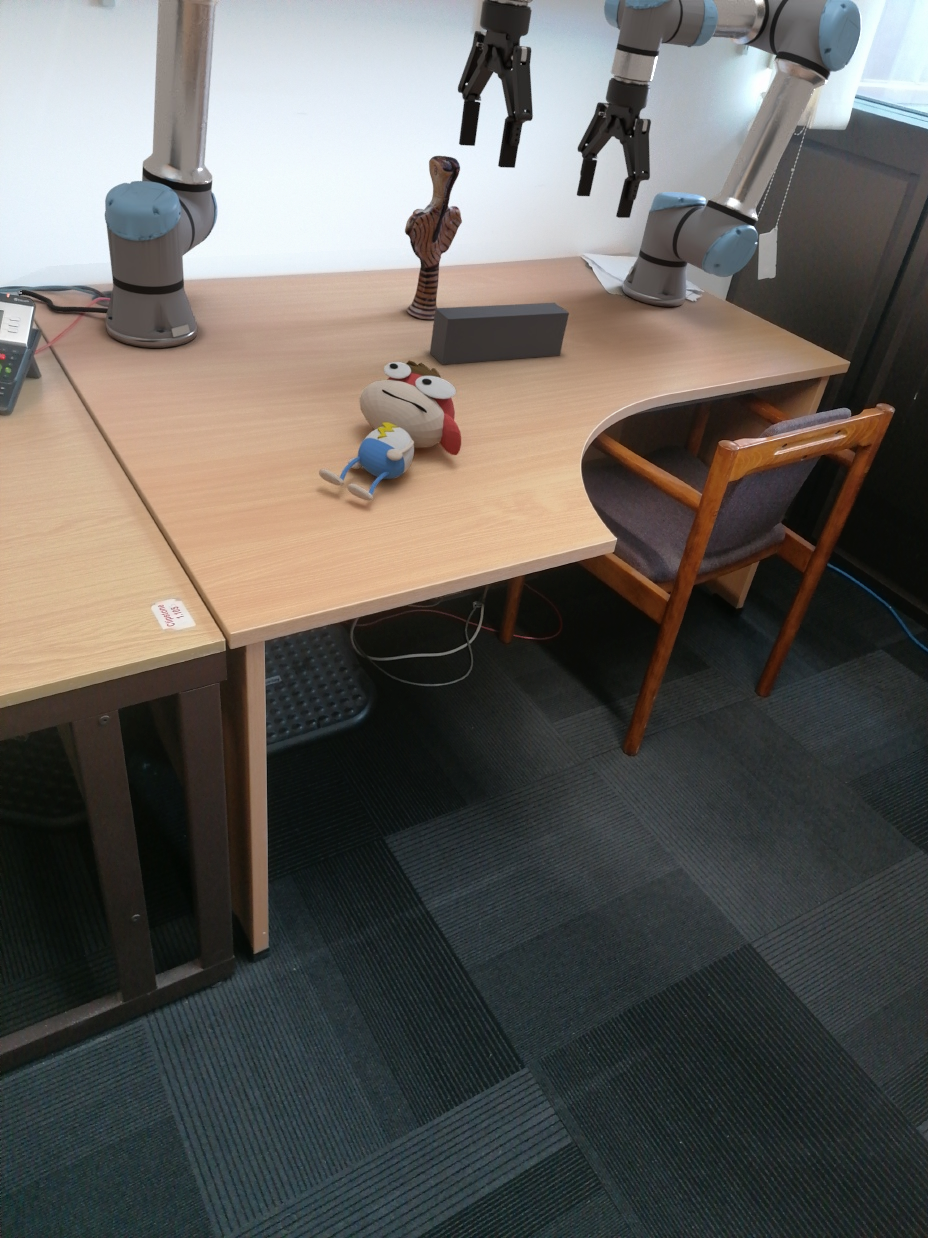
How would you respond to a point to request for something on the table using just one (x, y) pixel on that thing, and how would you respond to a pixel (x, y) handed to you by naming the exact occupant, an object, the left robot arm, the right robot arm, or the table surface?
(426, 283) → the figurine
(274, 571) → the table surface
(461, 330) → the bar
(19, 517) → the table surface
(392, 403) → the toy
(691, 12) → the right robot arm
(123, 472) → the table surface
